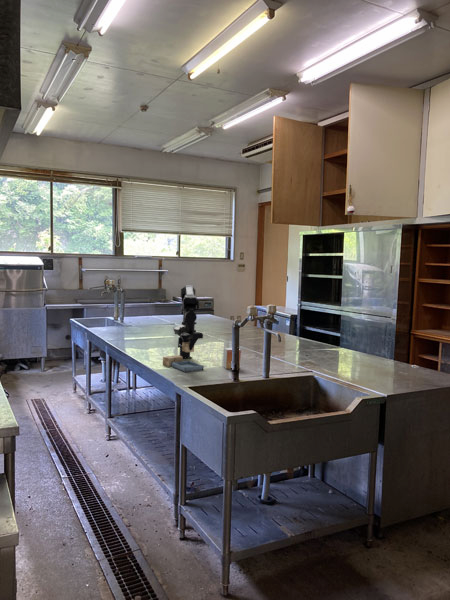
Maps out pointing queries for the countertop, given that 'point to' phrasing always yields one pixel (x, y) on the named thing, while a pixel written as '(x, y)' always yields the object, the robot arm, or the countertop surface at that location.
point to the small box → (229, 357)
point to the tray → (187, 366)
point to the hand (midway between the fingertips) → (188, 349)
